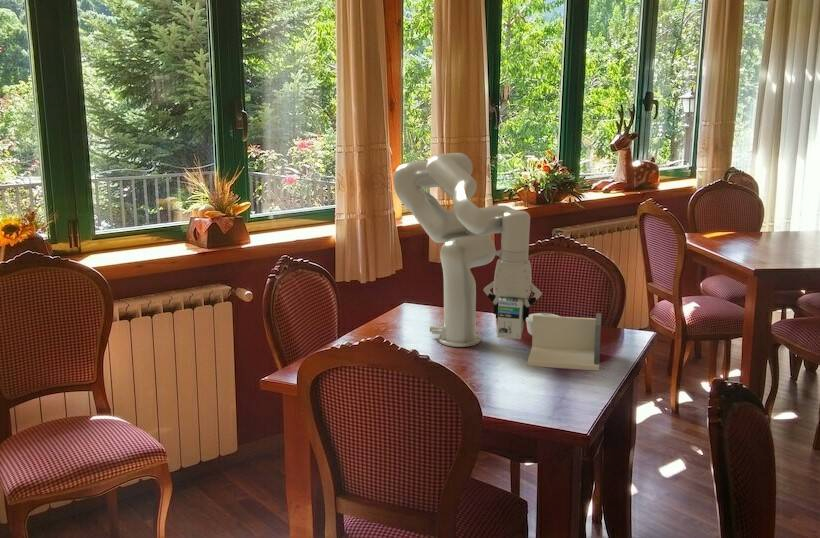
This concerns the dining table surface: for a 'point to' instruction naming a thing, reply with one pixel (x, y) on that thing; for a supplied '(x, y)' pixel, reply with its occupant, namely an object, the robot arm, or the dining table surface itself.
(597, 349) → the bookend
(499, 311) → the light bulb box
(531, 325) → the ramekin
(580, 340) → the cream open angled stand
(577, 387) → the dining table surface
